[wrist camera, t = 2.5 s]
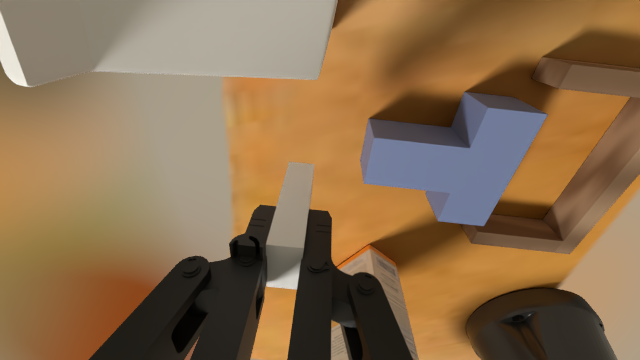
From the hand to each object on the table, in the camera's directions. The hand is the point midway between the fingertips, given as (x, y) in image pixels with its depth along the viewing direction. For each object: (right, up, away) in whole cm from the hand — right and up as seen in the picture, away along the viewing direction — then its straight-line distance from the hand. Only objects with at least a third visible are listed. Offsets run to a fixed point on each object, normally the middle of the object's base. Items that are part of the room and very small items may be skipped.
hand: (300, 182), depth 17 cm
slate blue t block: (+10, +3, +7) cm, 13 cm away
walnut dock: (+21, +2, +7) cm, 22 cm away
